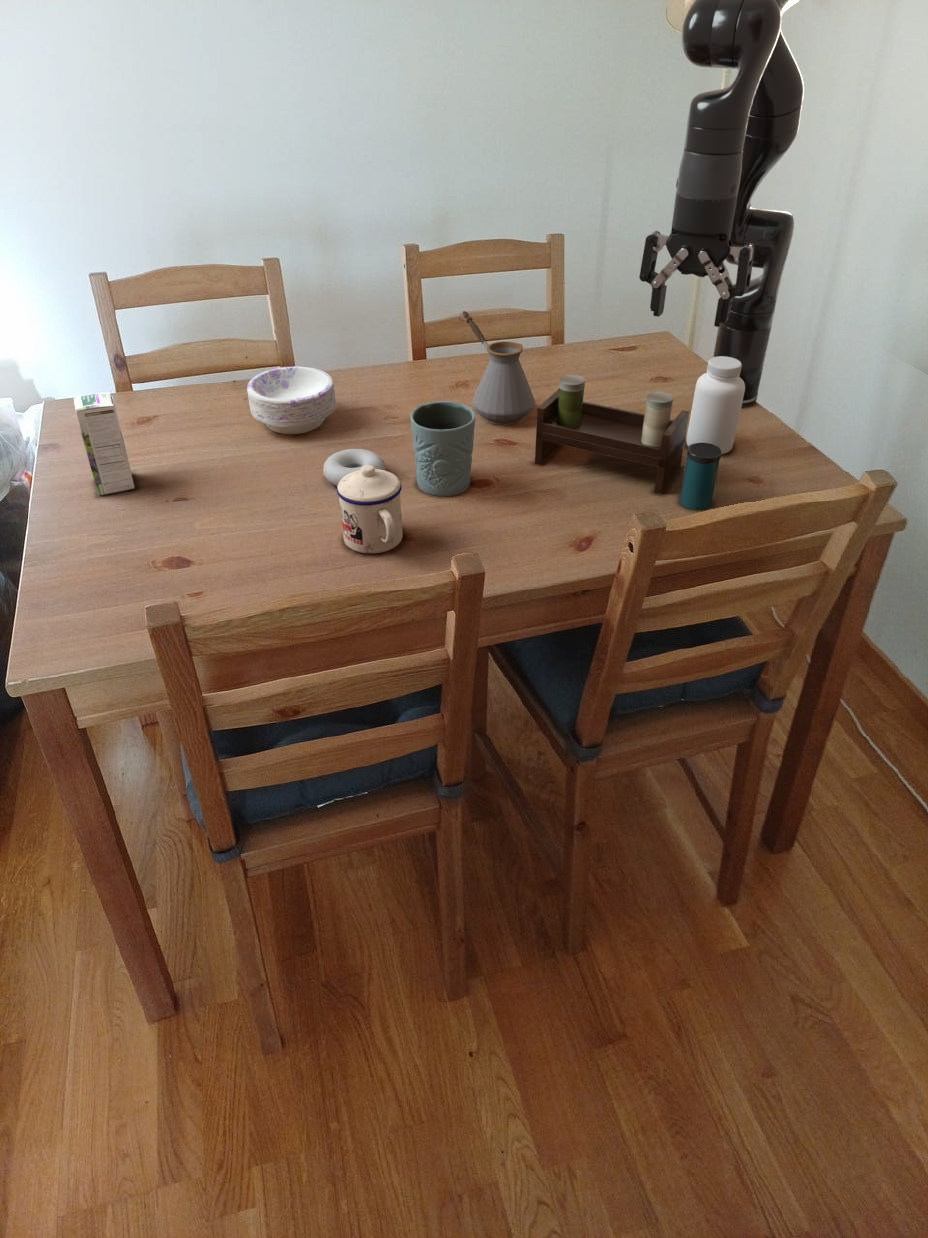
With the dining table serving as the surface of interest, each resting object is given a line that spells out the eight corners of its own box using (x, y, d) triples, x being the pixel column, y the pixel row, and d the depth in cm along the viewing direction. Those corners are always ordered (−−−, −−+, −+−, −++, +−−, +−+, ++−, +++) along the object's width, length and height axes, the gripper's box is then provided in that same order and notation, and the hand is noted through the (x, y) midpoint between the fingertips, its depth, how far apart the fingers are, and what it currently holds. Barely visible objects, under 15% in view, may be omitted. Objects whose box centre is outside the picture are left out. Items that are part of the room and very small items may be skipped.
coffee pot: (546, 421, 160) (550, 340, 151) (491, 434, 156) (492, 352, 147) (488, 380, 175) (489, 304, 166) (437, 392, 171) (435, 314, 162)
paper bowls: (314, 447, 152) (309, 404, 148) (237, 435, 156) (230, 393, 151) (351, 411, 164) (347, 370, 159) (278, 401, 168) (272, 361, 163)
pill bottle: (734, 458, 148) (751, 372, 139) (685, 454, 150) (699, 369, 140) (732, 437, 154) (748, 354, 145) (685, 433, 156) (699, 350, 147)
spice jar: (684, 491, 139) (693, 439, 134) (715, 499, 138) (725, 446, 132) (674, 505, 136) (683, 453, 130) (706, 513, 134) (716, 460, 129)
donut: (370, 497, 139) (394, 467, 146) (368, 478, 137) (393, 449, 144) (313, 487, 141) (340, 459, 149) (311, 468, 139) (338, 440, 147)
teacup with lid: (332, 531, 131) (324, 461, 123) (389, 516, 134) (384, 447, 127) (364, 572, 122) (357, 499, 115) (423, 555, 126) (420, 482, 118)
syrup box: (95, 480, 144) (70, 396, 135) (132, 473, 145) (110, 390, 137) (98, 496, 139) (73, 410, 131) (137, 489, 141) (114, 404, 132)
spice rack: (558, 439, 154) (563, 364, 146) (680, 467, 146) (693, 389, 138) (534, 463, 147) (538, 386, 139) (661, 494, 139) (673, 413, 131)
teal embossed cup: (445, 462, 148) (444, 395, 140) (488, 483, 142) (489, 414, 135) (400, 483, 142) (396, 414, 135) (443, 506, 136) (441, 435, 129)
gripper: (772, 189, 109) (747, 320, 119) (663, 178, 115) (648, 303, 125) (755, 202, 104) (731, 337, 114) (642, 189, 110) (628, 319, 120)
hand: (687, 319), depth 119 cm, fingers open, 8 cm apart
